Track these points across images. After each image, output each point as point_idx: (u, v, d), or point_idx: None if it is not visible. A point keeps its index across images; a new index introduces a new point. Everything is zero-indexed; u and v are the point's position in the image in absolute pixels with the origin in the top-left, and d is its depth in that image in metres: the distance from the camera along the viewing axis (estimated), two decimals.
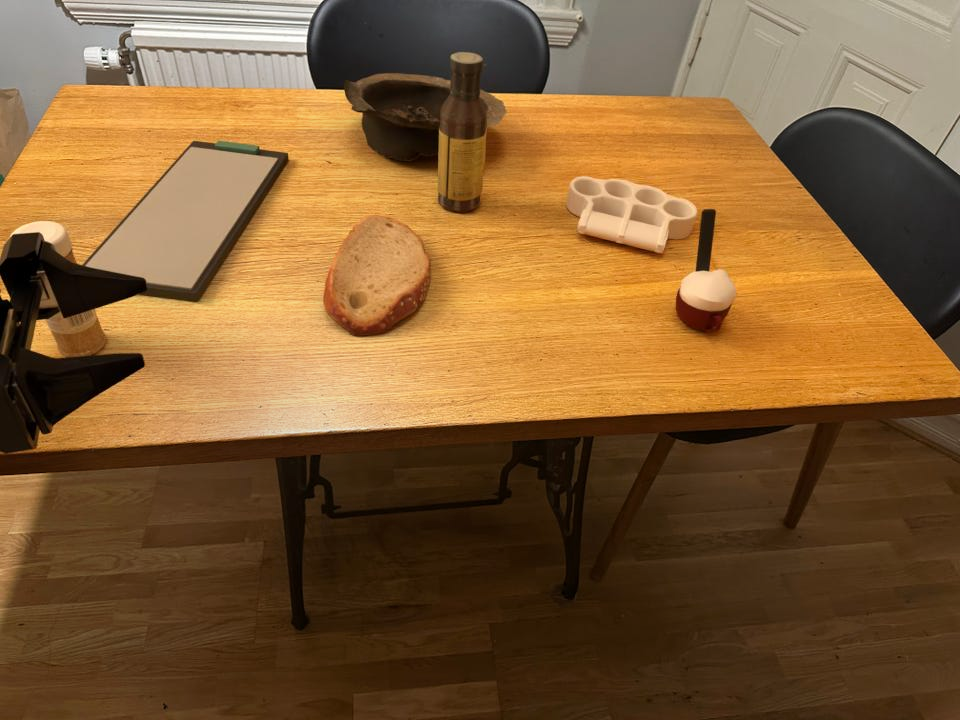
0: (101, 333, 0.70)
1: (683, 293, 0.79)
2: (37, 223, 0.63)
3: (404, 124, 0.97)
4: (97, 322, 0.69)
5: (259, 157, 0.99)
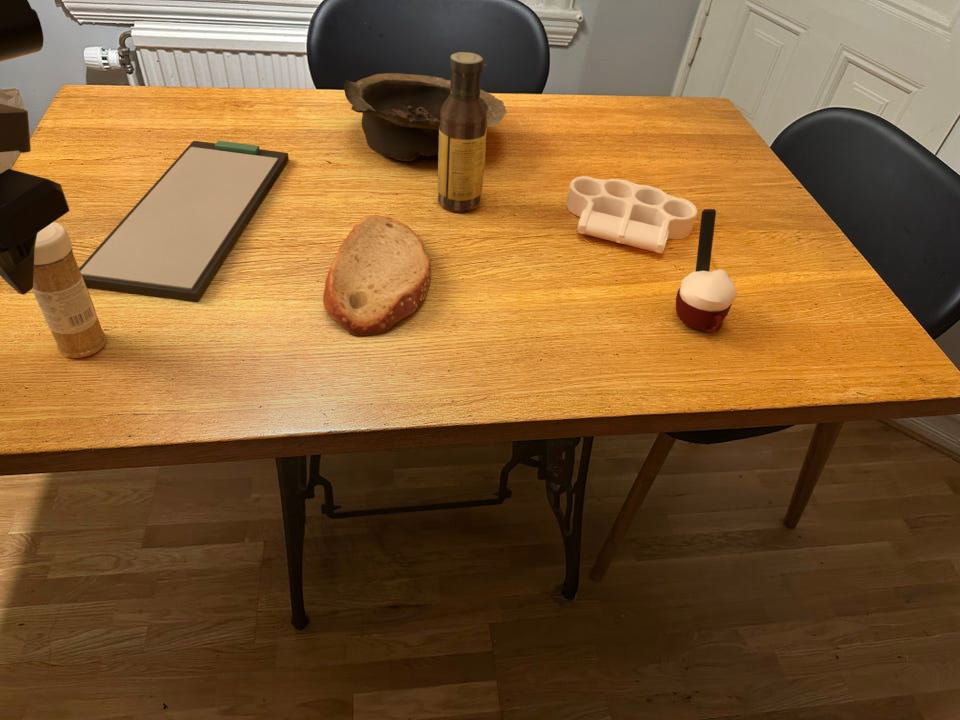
0: (101, 333, 0.70)
1: (683, 293, 0.79)
2: None
3: (404, 124, 0.97)
4: (97, 322, 0.69)
5: (259, 157, 0.99)
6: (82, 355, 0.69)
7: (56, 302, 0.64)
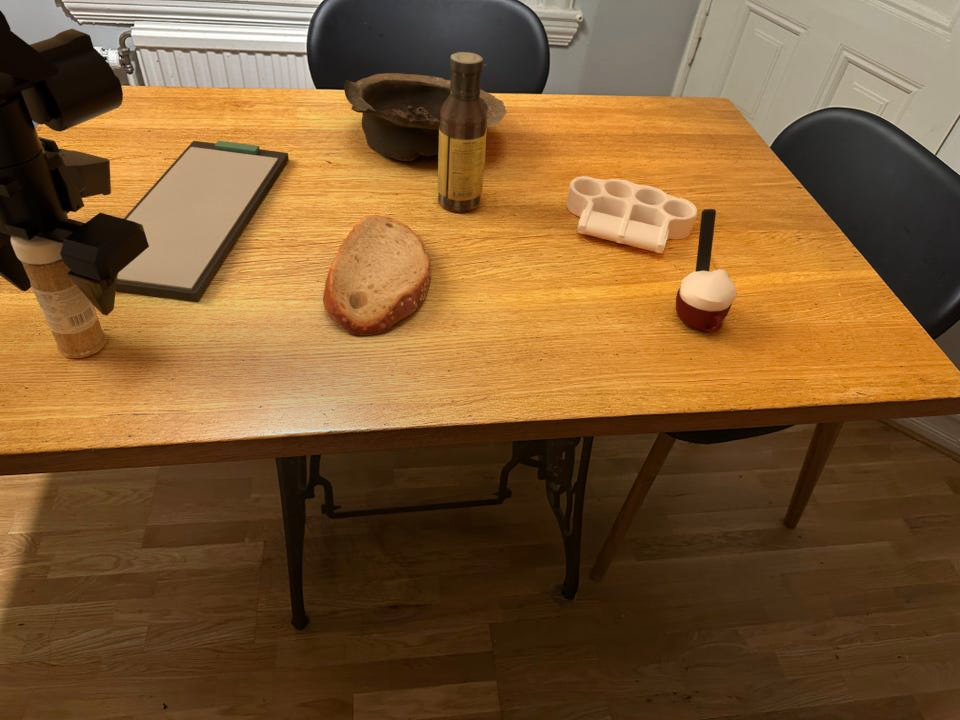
0: (101, 333, 0.70)
1: (683, 293, 0.79)
2: None
3: (404, 124, 0.97)
4: (97, 322, 0.69)
5: (259, 157, 0.99)
6: (82, 355, 0.69)
7: (56, 302, 0.64)
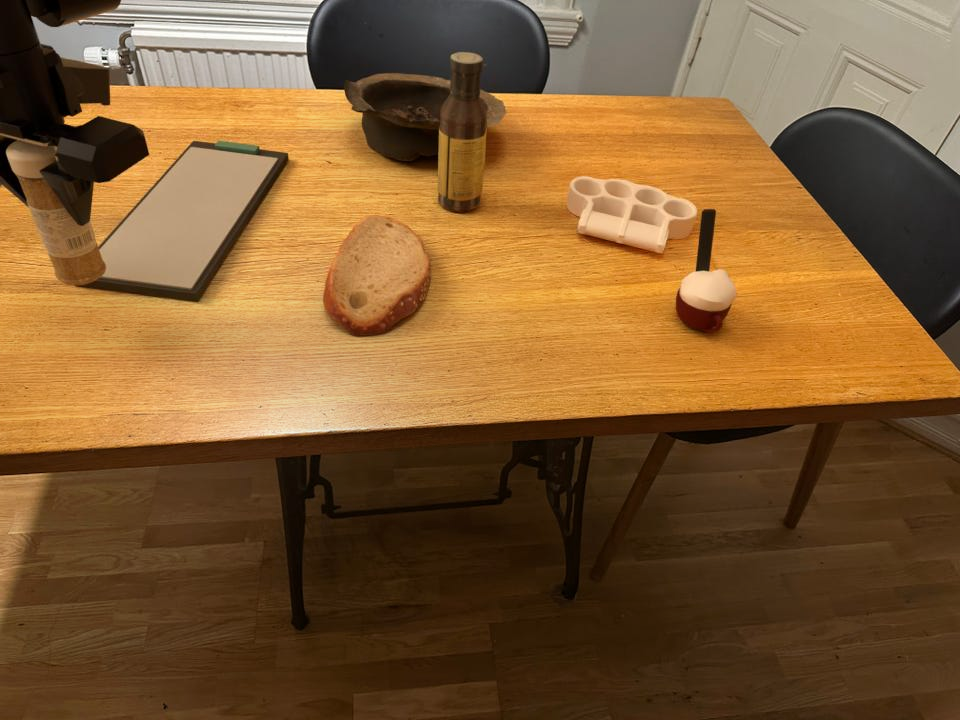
0: (101, 261, 0.68)
1: (683, 293, 0.79)
2: None
3: (404, 124, 0.97)
4: (97, 248, 0.67)
5: (259, 157, 0.99)
6: (81, 282, 0.67)
7: (54, 221, 0.62)
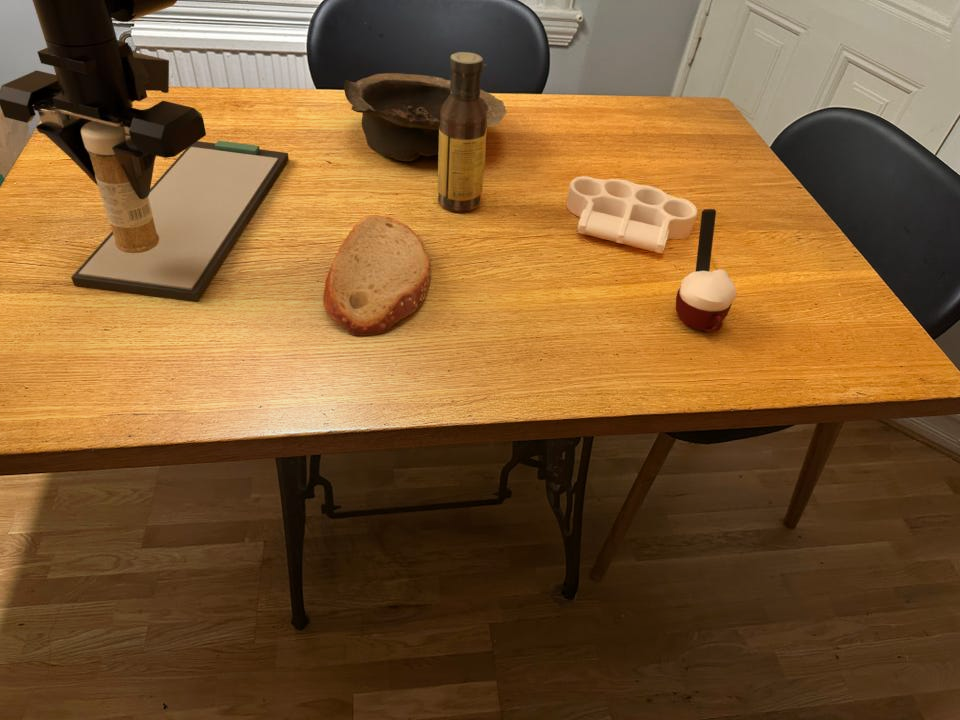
0: (155, 232, 0.76)
1: (683, 293, 0.79)
2: None
3: (404, 124, 0.97)
4: (152, 221, 0.75)
5: (259, 157, 0.99)
6: (138, 250, 0.75)
7: (119, 194, 0.70)
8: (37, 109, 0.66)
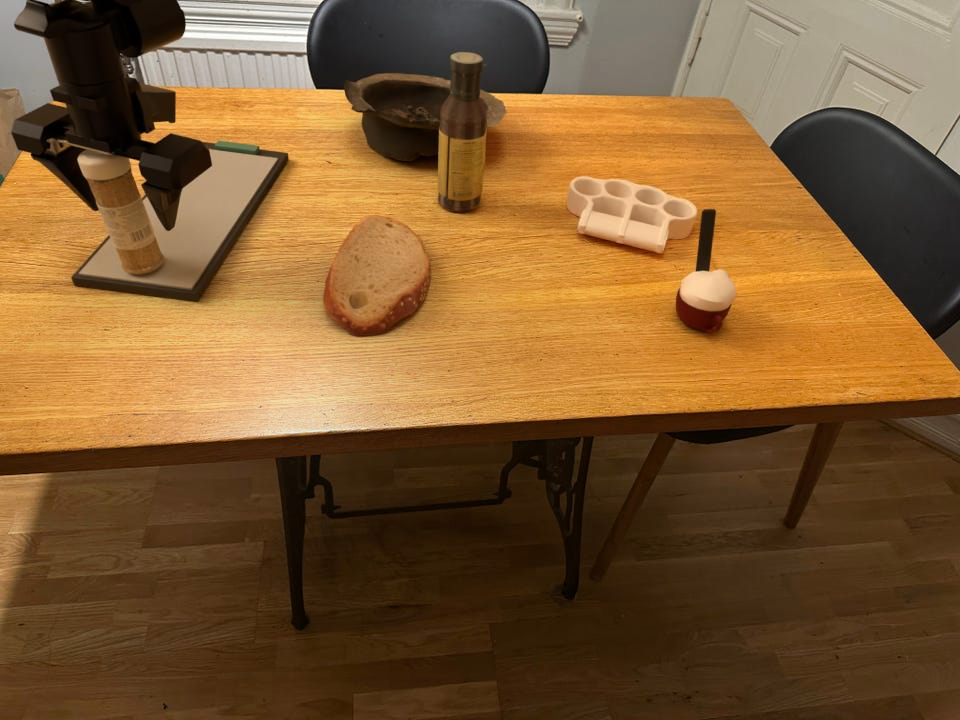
0: (159, 252, 0.78)
1: (683, 293, 0.79)
2: None
3: (404, 124, 0.97)
4: (155, 241, 0.77)
5: (259, 157, 0.99)
6: (144, 271, 0.77)
7: (119, 217, 0.72)
8: None
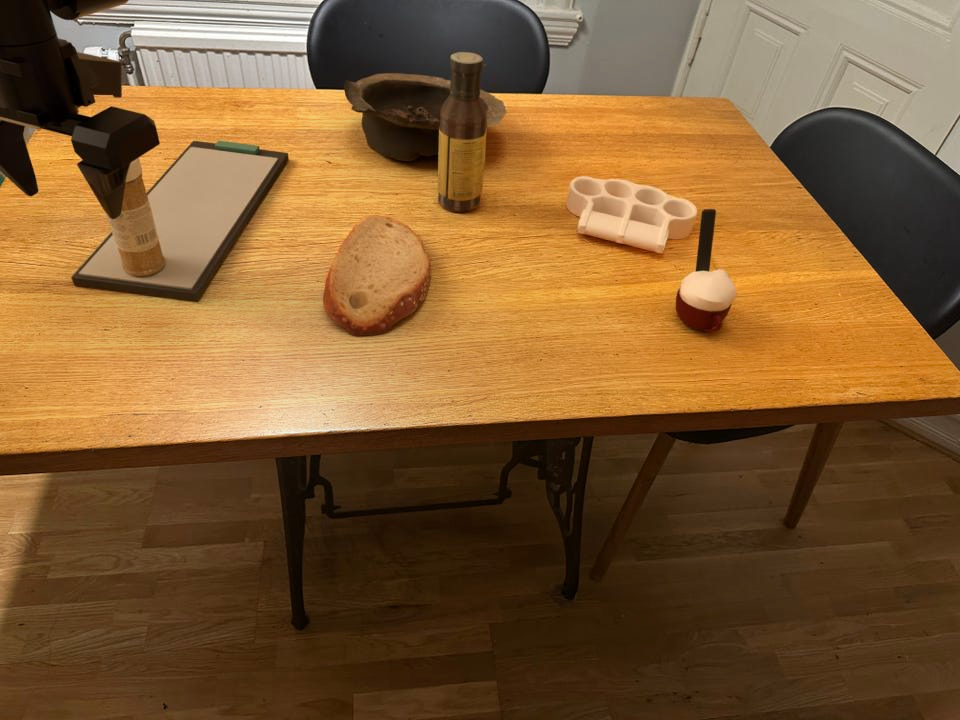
0: (161, 255, 0.78)
1: (683, 293, 0.79)
2: None
3: (404, 124, 0.97)
4: (159, 244, 0.77)
5: (259, 157, 0.99)
6: (145, 273, 0.77)
7: (126, 221, 0.72)
8: None
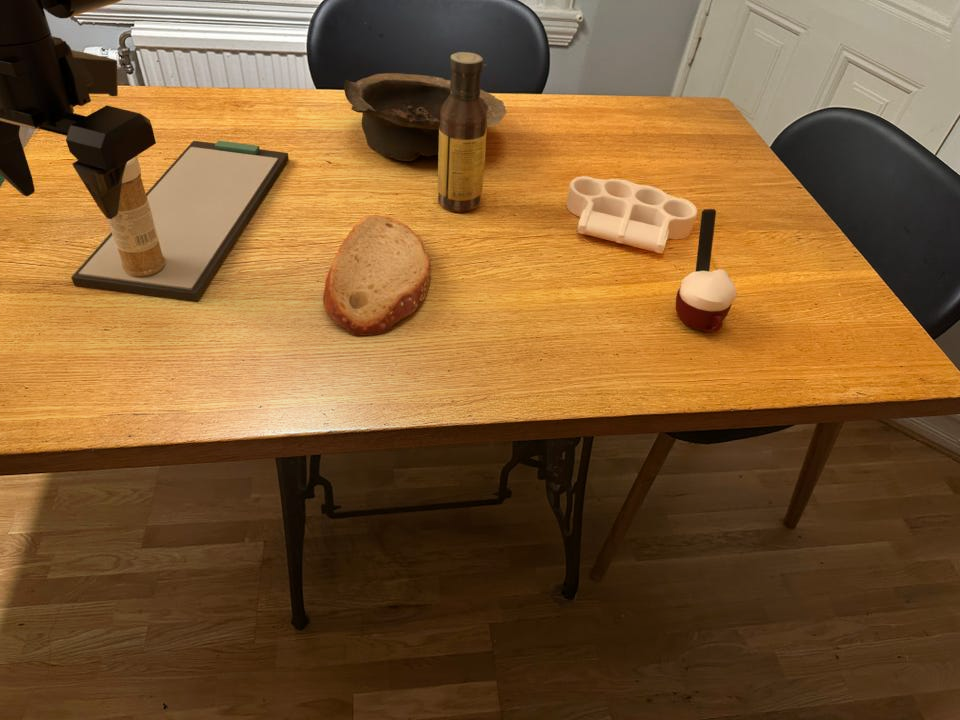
0: (161, 255, 0.78)
1: (683, 293, 0.79)
2: None
3: (404, 124, 0.97)
4: (158, 244, 0.77)
5: (259, 157, 0.99)
6: (145, 274, 0.77)
7: (126, 221, 0.72)
8: None
